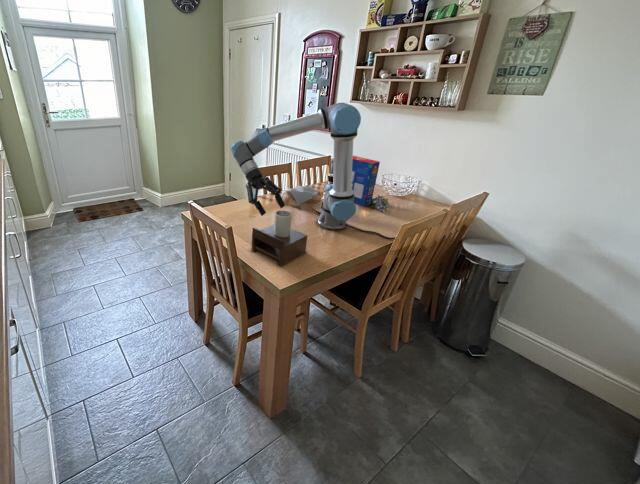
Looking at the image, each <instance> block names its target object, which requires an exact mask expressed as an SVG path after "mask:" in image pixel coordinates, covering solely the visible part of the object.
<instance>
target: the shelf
mask: <svg viewBox="0 0 640 484" xmlns="http://www.w3.org/2000/svg"><path fill="white" fill-rule="evenodd" d="M251 232H252V233H251V251H252V252H253V253H255V252H256V251H259V252H261V253H263V254H266V255H267V256H270V257H271V258H273V259H276V260H278V266H280V267H282V266H283V265H286V264H287V263H290V262H291V261H293V260H294V259H296V258H298V257H300V256H301V255H303V254H305V253H306V252H307V244H308V234H306V233H303V232H301V231H298V230H296V229H294V228H291V231H290V235H289V236H288V237H278V236H276V235H275V234H274V223H273V224H271V225H269V226H266V227H264V228H261V229H259V228H258V227H255V226H254V227H252V231H251Z"/></svg>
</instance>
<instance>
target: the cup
mask: <svg viewBox="0 0 640 484" xmlns="http://www.w3.org/2000/svg"><path fill="white" fill-rule="evenodd" d="M292 218H293V213H292V212H291V211H289V210H283V209H282V210H281V209H280V210H276V211H275V212H274V223H273V224H274V234H275V235H276V236H278V237H288V236H289V235H290V231H291V229H292V220H293V219H292Z"/></svg>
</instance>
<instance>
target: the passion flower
mask: <svg viewBox="0 0 640 484" xmlns="http://www.w3.org/2000/svg"><path fill="white" fill-rule="evenodd" d="M388 200H389V199H388V198H386V197H385V196H384V195H380V194H379V193H377V197H374V198H372V203H371V204H370V205H372V207H375V209H376V210H378V211H379V213H381V212H382V213H385V211H386V210H387V211H388V209H389V205H390V202H389V201H388Z"/></svg>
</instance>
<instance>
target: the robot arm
mask: <svg viewBox="0 0 640 484" xmlns="http://www.w3.org/2000/svg"><path fill="white" fill-rule="evenodd" d="M361 121H362V115H361V113H360V111H359V109H357V107H355V106H354V105H352V104H348V103H347V102H337V103H334V104H331V105H329V106H326V107H323V108H320V109H319V110H318V111H317V112H314V113H311V114H307V115H305V116H301V117H298V118H295V119H290V120H288V121H284V122H281V123H278V124H273V125H271V126H268V127H264V128H257V129H256V130H254V132H253V133H252V136H251V138H250V139H249V140H247V141H246V142H245V141H243V140H239V141H237V142H235V143H233V144H232V145H231V147H230V152H231V154H232V155H233V158H234V159H235V161H236V163H237V164H238V166H239V169H240V170H241V172H242V173H243V175H244V177H245V179H246V181H247V182H246V183H245V188H246V193H247V199H248V200H247V201H248V203H249V204H251V205H254V207H255V208H256V210H257V211H258V212H259V214H260V216H262V217H263V216H265V214H267V212H266V210H265V208H264V207H263V205H262V203H261V202H260V200H258V196H259V191H260V190H266V191H267V192H269V193H270V194H272V195H274V198H275V200H276V202H277V204H278V206H279V208H280V209H283V208H284V207H285V206H286V204H285V202H284V201H283V200H284V199H283V197H281V196H282V195H281V194H280V193H282V189H281V188H280V187H278V186H277V184H276V183H274V182H273V181H272V180H271V179H270V177H269V176H266V177H263V172H262V170H261V169H260V168H259V165H258V164H257V162H256V160H255V159H254V157H255V156H256V155H258V154H259V153H261V152H263V151H264V150H266V149H267V148H269V147H270V146H271V145H272V144H274V142H276V141H280V140H284V139H287V138H291V137H294V136H297V135H301V134H305V133H308V132H311V131H315V130H318V129H322V130H327V129H330V138H331V139H332V140H333V157H332V165H333V184H330V183H328V184H326V186H325V189H324V197H323V207H322V211H321V213H320V215H319V216H318V218H317V225H318V226H320V227H321V228H323V229H326V230H330V231H341V230H344V229H346V227H348V228H350V229H354V230H356V231H359V232H362V233H369V234H375V235H377V236H380V237H381V238H383V239H386V240H396V239H395V238H396V237H388V236H386V235H384V234H381V233H380V232H378V231H377V232H376V231H371V230H364V229H361V228H359V227H358V228H357V227H355V226H353V225H349V224H348V223H347V220H350V219H351V218H352V217H354V215H355V214H356V212H357V207H356V205H357V204H355V203H354V191H353V190H352V189H351V182H352V160H353V156H354V140H355V138H357V136H358V130H359V128H360V126H361Z"/></svg>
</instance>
